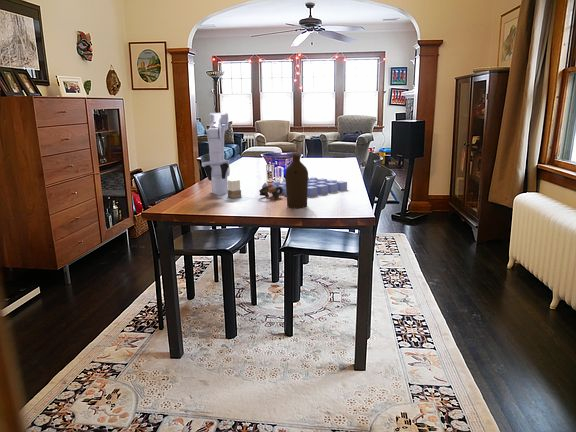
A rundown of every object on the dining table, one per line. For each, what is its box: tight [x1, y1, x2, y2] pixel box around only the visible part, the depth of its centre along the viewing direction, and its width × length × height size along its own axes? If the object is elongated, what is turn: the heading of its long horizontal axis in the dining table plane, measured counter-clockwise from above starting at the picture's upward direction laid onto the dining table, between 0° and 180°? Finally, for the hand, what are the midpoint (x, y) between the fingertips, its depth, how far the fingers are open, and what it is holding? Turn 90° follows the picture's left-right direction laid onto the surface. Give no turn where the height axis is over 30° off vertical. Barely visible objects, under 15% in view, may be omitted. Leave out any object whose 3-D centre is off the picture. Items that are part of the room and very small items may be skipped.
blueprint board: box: [216, 194, 254, 203], centre depth 231 cm, size 18×12×1 cm, turn 37°
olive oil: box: [284, 152, 309, 209], centre depth 207 cm, size 11×11×25 cm
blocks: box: [261, 176, 348, 198], centre depth 249 cm, size 35×34×5 cm
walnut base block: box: [227, 189, 242, 199], centre depth 231 cm, size 5×5×4 cm
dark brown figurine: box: [259, 184, 283, 201], centre depth 228 cm, size 12×10×8 cm
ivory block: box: [227, 179, 241, 191], centre depth 229 cm, size 4×4×5 cm
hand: (216, 179), depth 226 cm, fingers open, 7 cm apart
